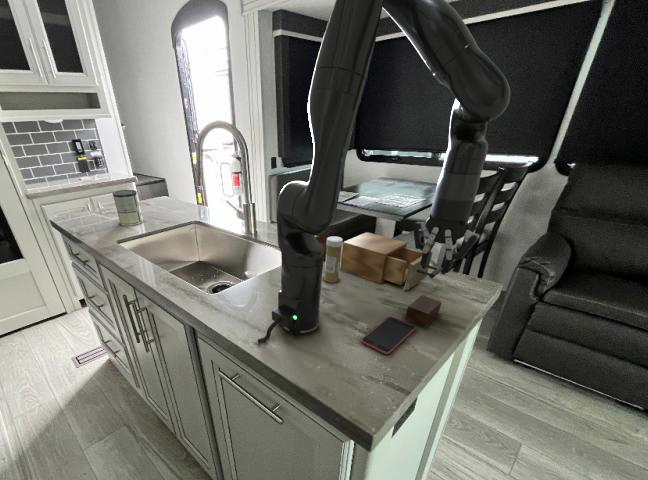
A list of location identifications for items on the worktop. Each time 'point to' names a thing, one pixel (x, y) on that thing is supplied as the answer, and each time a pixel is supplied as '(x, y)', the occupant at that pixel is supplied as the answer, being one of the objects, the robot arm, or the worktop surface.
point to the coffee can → (128, 207)
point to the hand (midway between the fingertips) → (434, 270)
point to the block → (422, 311)
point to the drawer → (406, 267)
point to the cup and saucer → (323, 243)
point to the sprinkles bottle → (333, 258)
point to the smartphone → (388, 335)
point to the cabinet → (368, 255)
